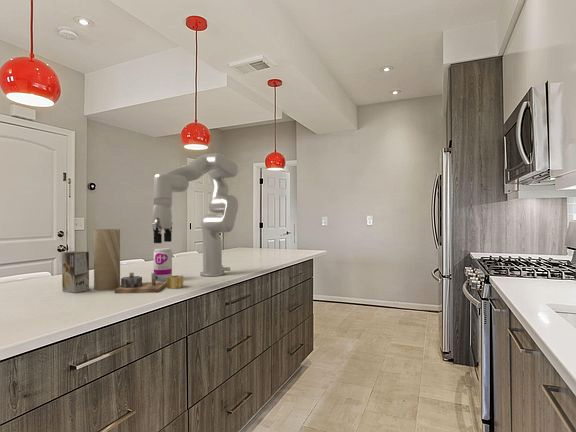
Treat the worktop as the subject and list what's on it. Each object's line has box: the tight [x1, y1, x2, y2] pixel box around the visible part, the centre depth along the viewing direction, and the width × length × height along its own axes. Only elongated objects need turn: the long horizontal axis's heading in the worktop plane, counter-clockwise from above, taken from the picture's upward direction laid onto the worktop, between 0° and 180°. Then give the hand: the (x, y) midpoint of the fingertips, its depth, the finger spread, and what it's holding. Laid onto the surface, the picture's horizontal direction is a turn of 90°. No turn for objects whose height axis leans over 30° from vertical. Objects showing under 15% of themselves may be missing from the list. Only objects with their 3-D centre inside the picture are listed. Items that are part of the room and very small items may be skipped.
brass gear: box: [166, 275, 184, 290], centre depth 155 cm, size 7×7×4 cm
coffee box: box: [61, 250, 90, 294], centre depth 148 cm, size 9×6×16 cm
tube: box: [93, 228, 121, 292], centre depth 153 cm, size 10×10×25 cm
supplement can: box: [153, 247, 173, 282], centre depth 172 cm, size 8×8×15 cm
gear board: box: [113, 272, 167, 294], centre depth 151 cm, size 17×14×7 cm
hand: (162, 242), depth 155 cm, fingers open, 9 cm apart
